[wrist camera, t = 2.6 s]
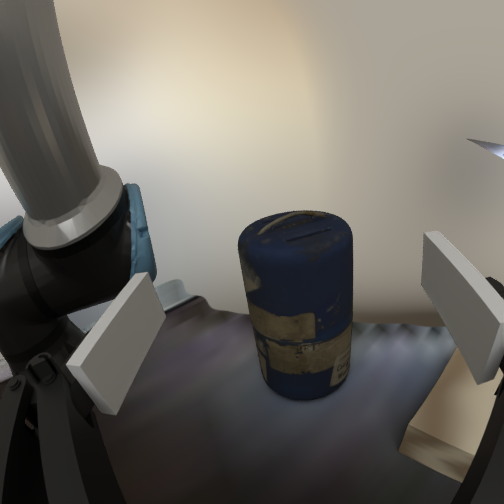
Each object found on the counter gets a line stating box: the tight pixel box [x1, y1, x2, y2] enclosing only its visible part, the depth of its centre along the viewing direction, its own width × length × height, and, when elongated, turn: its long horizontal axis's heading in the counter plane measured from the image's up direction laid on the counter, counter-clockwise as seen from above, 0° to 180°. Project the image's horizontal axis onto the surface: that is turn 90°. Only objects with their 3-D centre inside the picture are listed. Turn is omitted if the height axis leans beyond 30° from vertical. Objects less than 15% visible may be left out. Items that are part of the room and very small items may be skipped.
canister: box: [238, 211, 353, 400], centre depth 28 cm, size 10×10×18 cm
